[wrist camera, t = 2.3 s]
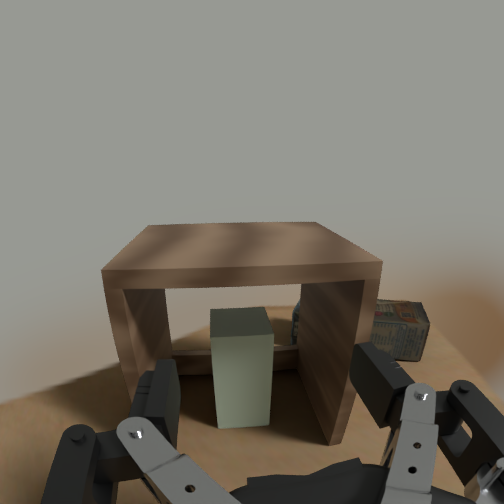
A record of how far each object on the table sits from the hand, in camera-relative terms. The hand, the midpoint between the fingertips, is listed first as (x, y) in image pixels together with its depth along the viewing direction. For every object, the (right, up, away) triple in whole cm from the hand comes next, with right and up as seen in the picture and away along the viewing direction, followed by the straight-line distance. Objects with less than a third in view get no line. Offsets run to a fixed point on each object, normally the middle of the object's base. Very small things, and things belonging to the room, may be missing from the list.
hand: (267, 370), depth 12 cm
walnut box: (-2, -11, +16) cm, 20 cm away
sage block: (-2, -11, +16) cm, 20 cm away
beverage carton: (+15, -8, +28) cm, 33 cm away
